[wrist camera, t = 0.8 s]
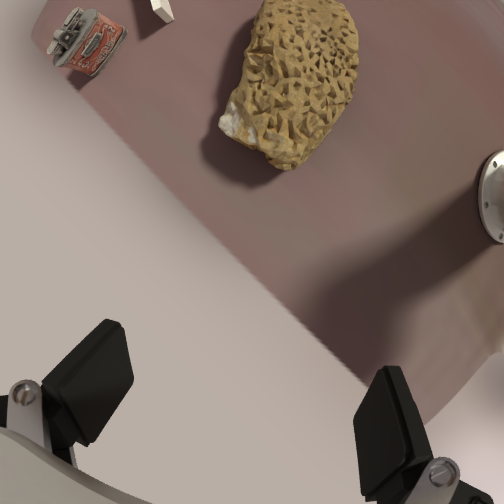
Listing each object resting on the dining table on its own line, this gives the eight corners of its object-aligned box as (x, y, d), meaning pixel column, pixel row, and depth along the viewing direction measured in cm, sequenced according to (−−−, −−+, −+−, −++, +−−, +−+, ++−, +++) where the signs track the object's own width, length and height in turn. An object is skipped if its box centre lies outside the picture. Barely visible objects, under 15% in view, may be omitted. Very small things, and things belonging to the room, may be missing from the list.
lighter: (97, 80, 27) (46, 66, 17) (84, 72, 26) (34, 58, 17) (132, 30, 24) (88, 3, 15) (117, 24, 24) (74, -1, 14)
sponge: (307, 175, 29) (398, 36, 19) (287, 185, 22) (406, 6, 12) (215, 117, 30) (294, -11, 20) (175, 114, 24) (272, -44, 13)
